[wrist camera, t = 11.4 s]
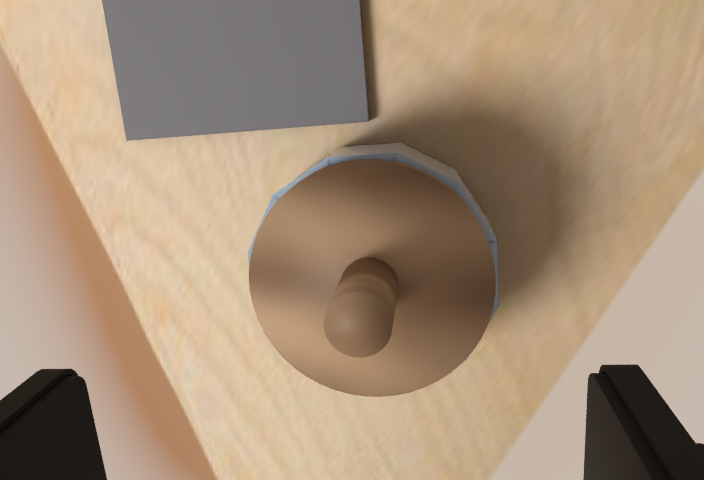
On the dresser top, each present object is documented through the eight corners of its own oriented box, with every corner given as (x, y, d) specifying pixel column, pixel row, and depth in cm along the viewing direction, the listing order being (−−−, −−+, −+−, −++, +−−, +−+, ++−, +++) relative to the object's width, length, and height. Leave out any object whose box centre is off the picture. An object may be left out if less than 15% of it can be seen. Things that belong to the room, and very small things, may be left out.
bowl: (263, 152, 33) (236, 163, 29) (484, 136, 32) (495, 145, 27) (287, 351, 36) (266, 392, 32) (490, 347, 35) (500, 388, 30)
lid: (239, 168, 29) (192, 189, 23) (489, 148, 27) (506, 165, 21) (270, 389, 32) (235, 457, 26) (497, 384, 30) (514, 455, 24)
